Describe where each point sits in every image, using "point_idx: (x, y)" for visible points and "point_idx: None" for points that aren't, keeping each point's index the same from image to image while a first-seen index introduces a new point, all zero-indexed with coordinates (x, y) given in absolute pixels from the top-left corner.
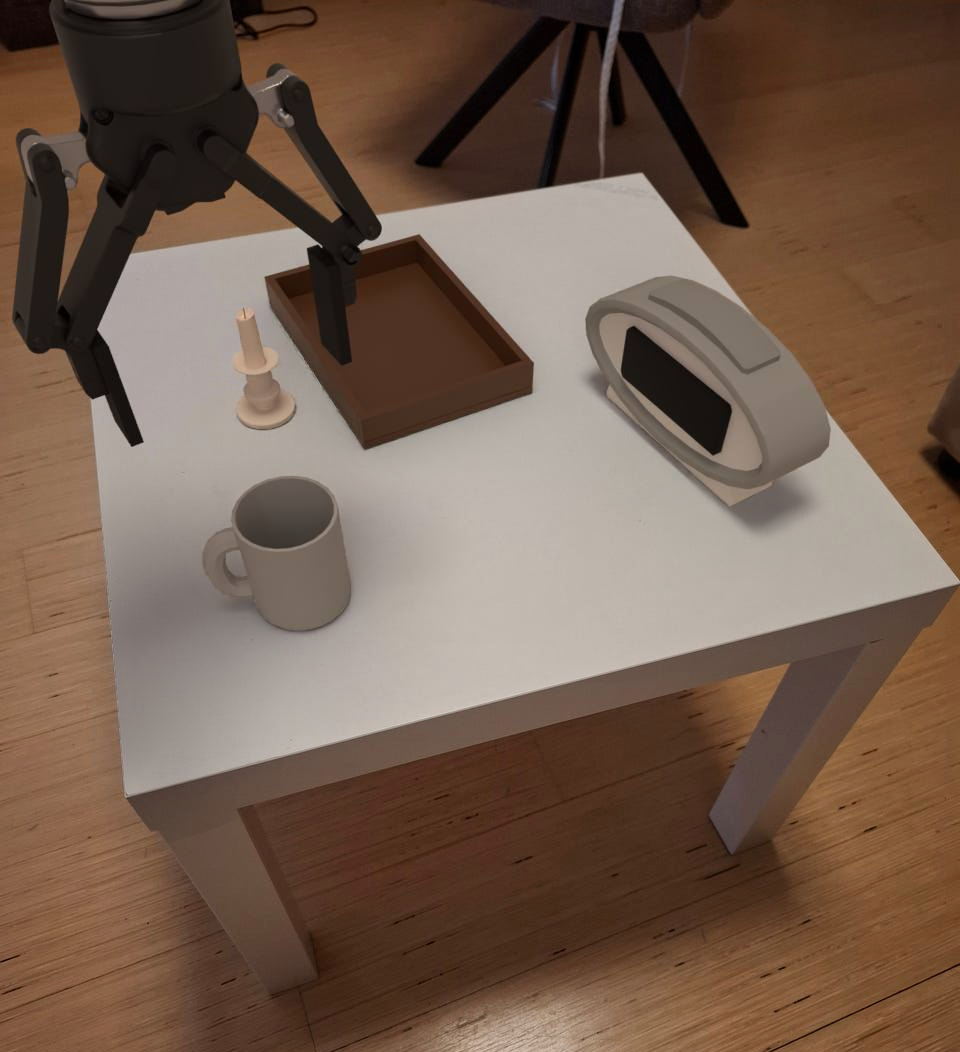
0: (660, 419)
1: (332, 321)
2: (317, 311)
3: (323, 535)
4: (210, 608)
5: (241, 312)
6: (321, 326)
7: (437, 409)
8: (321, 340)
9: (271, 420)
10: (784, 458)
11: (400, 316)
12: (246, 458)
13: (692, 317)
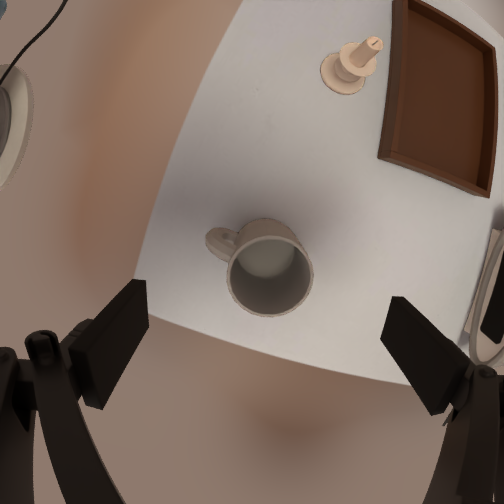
0: (490, 281)
1: (403, 361)
2: (411, 320)
3: (280, 315)
4: (208, 220)
5: (373, 38)
6: (402, 316)
7: (432, 175)
8: (393, 301)
9: (339, 88)
10: None
11: (457, 78)
12: (304, 105)
13: None
